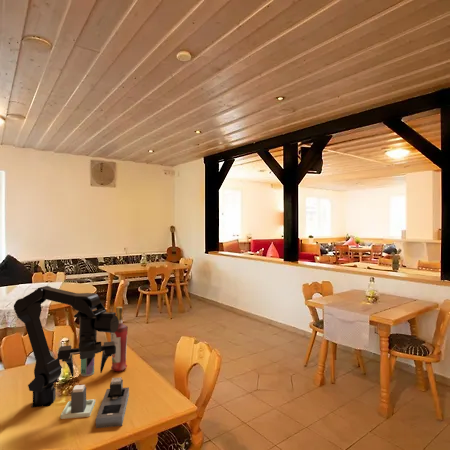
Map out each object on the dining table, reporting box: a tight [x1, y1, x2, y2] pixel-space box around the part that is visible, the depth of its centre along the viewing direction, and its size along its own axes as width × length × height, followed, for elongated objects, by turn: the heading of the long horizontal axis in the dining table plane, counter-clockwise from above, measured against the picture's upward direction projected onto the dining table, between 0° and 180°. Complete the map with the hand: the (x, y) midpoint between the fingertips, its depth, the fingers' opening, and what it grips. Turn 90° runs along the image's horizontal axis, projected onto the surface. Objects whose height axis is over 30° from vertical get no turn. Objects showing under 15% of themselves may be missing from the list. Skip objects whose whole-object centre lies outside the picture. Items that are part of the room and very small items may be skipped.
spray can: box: [80, 357, 95, 377], centre depth 149 cm, size 6×6×20 cm
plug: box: [70, 384, 87, 413], centre depth 119 cm, size 4×4×8 cm
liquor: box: [110, 306, 128, 373], centre depth 154 cm, size 7×7×28 cm
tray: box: [60, 398, 96, 420], centre depth 119 cm, size 9×9×2 cm
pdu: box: [95, 377, 130, 429], centre depth 119 cm, size 8×20×8 cm, turn 10°
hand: (87, 374), depth 121 cm, fingers open, 9 cm apart
